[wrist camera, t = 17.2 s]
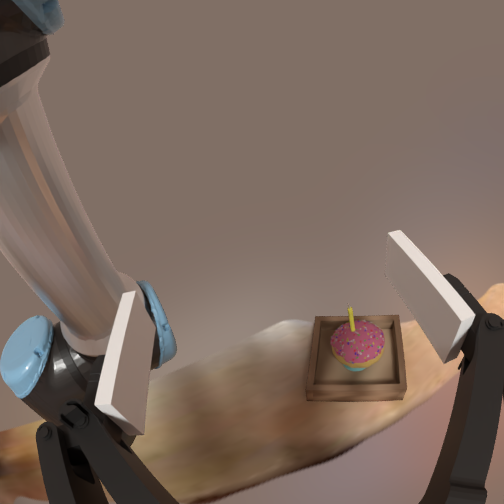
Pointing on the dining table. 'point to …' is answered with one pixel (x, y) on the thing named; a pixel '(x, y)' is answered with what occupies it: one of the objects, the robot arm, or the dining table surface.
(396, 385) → the tray
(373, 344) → the cupcake
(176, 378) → the dining table surface
